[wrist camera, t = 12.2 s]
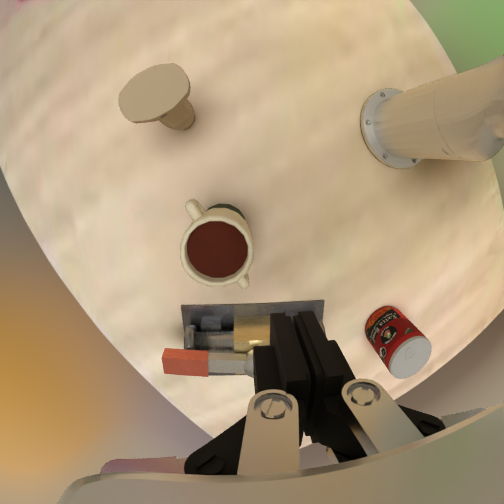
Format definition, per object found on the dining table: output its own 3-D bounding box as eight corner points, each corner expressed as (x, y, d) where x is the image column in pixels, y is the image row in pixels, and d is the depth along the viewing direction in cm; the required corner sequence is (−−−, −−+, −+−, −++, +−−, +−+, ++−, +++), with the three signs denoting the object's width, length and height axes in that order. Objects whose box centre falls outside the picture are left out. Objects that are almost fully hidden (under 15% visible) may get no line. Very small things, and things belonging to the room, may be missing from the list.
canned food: (385, 296, 44) (418, 329, 33) (407, 318, 45) (439, 351, 35) (355, 329, 45) (381, 368, 35) (379, 348, 47) (405, 385, 36)
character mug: (179, 207, 38) (152, 226, 25) (222, 178, 37) (215, 182, 25) (223, 270, 41) (218, 314, 28) (265, 243, 40) (278, 278, 27)
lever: (270, 348, 36) (272, 359, 34) (268, 368, 38) (270, 379, 35) (165, 344, 36) (161, 355, 33) (167, 364, 37) (164, 375, 34)
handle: (212, 124, 35) (196, 97, 20) (169, 144, 35) (129, 132, 21) (198, 94, 33) (176, 54, 19) (156, 115, 34) (112, 89, 19)
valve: (323, 299, 43) (337, 322, 36) (315, 368, 47) (325, 394, 40) (181, 304, 42) (172, 328, 35) (192, 373, 46) (187, 401, 39)
